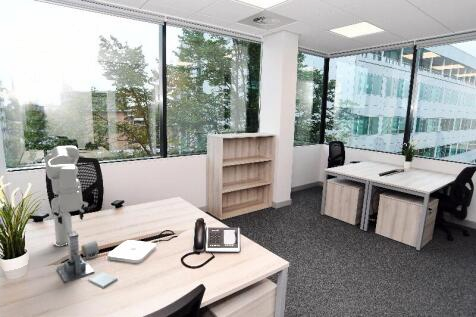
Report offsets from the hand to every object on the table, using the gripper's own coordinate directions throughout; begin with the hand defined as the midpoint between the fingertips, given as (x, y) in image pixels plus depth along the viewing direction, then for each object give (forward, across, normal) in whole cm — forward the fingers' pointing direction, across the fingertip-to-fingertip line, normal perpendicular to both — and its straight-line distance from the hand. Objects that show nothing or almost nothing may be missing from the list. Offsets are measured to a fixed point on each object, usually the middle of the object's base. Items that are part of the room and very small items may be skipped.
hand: (71, 221), depth 148 cm
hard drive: (+29, -8, +21) cm, 36 cm away
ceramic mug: (+29, -12, -11) cm, 33 cm away
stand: (+28, 0, +1) cm, 28 cm away
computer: (+29, -32, +2) cm, 43 cm away
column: (+22, 0, +1) cm, 22 cm away
